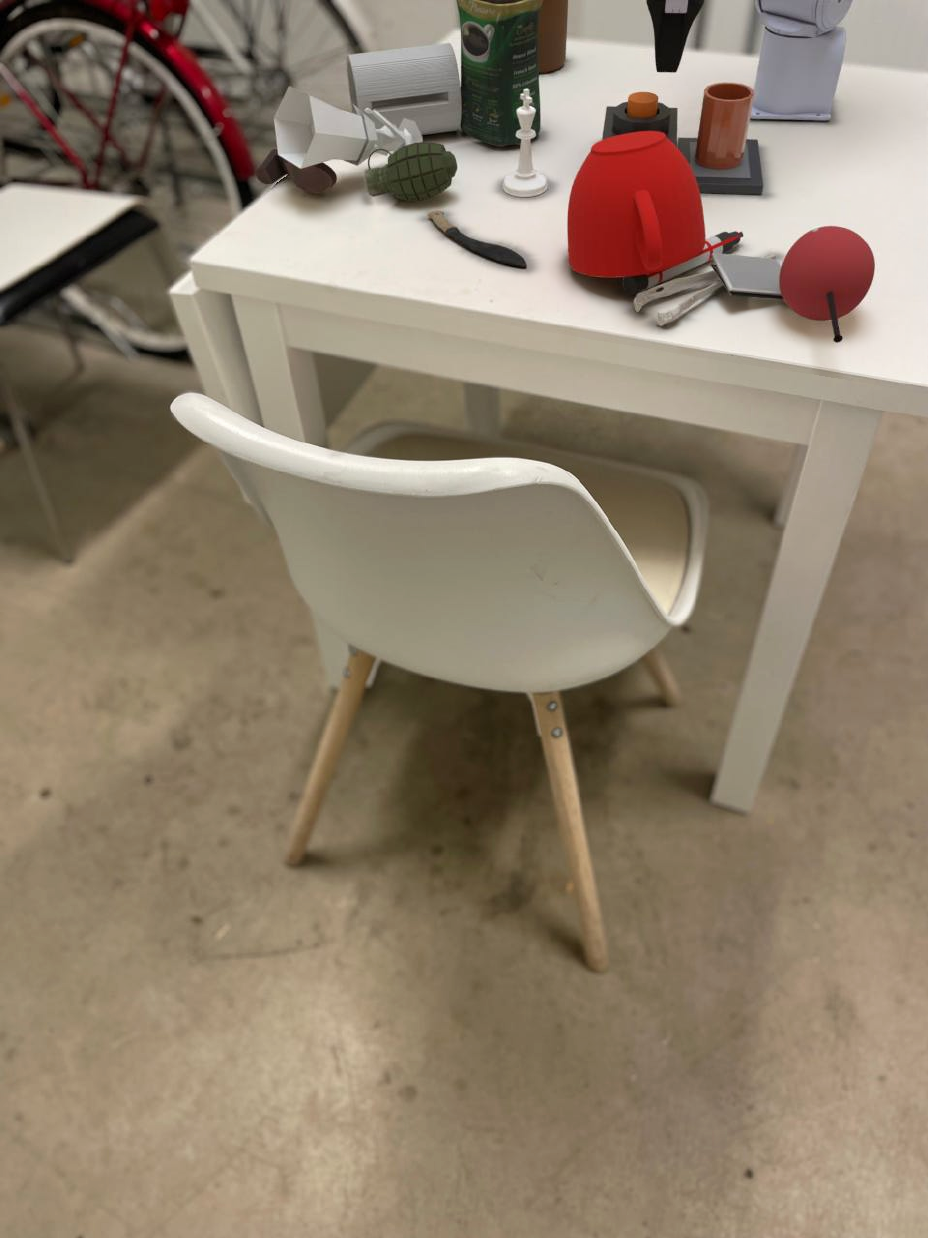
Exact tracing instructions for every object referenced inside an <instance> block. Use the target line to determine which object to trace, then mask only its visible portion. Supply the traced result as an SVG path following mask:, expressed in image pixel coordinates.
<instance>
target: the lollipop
mask: <svg viewBox="0 0 928 1238" xmlns="http://www.w3.org/2000/svg"><path fill="white" fill-rule="evenodd" d="M875 269H876V262H875V256H874V253H873V250H872V248H871V247H870V245H869V244H868V242H867V241H866V239H864V238H863V237H862V236H861V235H860V234H859V233H857V232H855V231H853V230H852V229H849V228H846V227H842V226H839V225H838V226H836V225H825V226H820V227H816V228H813V229H810V230H809V231H807V232H805V233H804V234H802V236H800V237H799V238H798V239H797V240H796V241H795V242H794V243H793V244H792V245H791V246H790V248H789V249H788V251H787V253H786V254H785V256H784V259H783V260H782V264H781V270H780V276H779V286H780V291H781V295H782V297H783V299H784V300H783V301H784V302H785V304H786V305H787V307H788V308H790V309H791V310H792V311H793V312H795V313H796V314H797V315H798V316H801V317H803V318H805V319H807V320H810V321H817V322H829V321H831V327H832V331H833V339H832V340H833V342H834V343H835V344H836V343H837V344H838V343H841V342H842V341H843V338H844V337H843V336H842V334H841V330H840V329H841V328H840V324H839V319H840V318H843V317H845V316H846V315H848V314H850V313H852V312H853V311H854V310H855V309H856V308H857V307H859V305H860V304H861V302H863V300H864V299H865V298H866V296H867V295H868V292H869V290H870V289H871V286H872V283H873V280H874V277H875Z"/></svg>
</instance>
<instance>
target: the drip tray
mask: <svg viewBox="0 0 928 1238" xmlns="http://www.w3.org/2000/svg"><path fill="white" fill-rule="evenodd" d="M696 142H697V137H677V148H678V149H679V150H680V152H681V153H682V154H683V155H684V157H685V158H686V160H687V161H688V163H689V165H690V167H691V169H692V171H693V173H694V176H695V178H696V181H697V184H698V187H699V191H700V194H702V193H703V194H729V195H730V194H731V195H732V194H734V195H762V194H763V189H764V180H763V172H762V164H761V154H760V147H759V140H758V139H756V138H755V139H753V138H752V139H751V138H747V139H746V144H745V150H744V155H743V159H742V162H741V164H740V165H738V166H737V167H734V168H731V169H710V168H706V167H703V166H701V165H699V164H697V163H696V162H695V159H694V158H695V149H696Z"/></svg>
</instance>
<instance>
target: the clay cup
mask: <svg viewBox="0 0 928 1238" xmlns="http://www.w3.org/2000/svg"><path fill="white" fill-rule="evenodd" d="M753 100H754V88H752V87H750V86H749V85H745V84H742V83H738V82H717V83H713V84H710V85H707V86H706V87H704V89H703V93H702V100H701V108H700V114H699V121H698V129H697V135H696V138H697V142H696V149H695V158H694V159H695V162H696V163H697V164H699V165H701V166H703V167H706V168H710V169H731V168H734V167H737V166H738V165H740V164H741V162H742V159H743V155H744V150H745V144H746V139H748V133H749V126H750V122H751V118H750V116H751V111H752V105H753Z"/></svg>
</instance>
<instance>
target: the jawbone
mask: <svg viewBox="0 0 928 1238" xmlns="http://www.w3.org/2000/svg"><path fill="white" fill-rule="evenodd" d="M777 256H778V254H777V253H775V252H774V253H771V254H769V255H767V256H764V257H762V258H771V259H775V257H777ZM711 283H712V284H711ZM707 284H710V285H709V286H707V287H705V288H703V289H701V290H699V291H697V292H695V293H693V294H692V295H690V296H689V297H687V298H685V299H684V300H683V301H681V302H680V303H679V304H678V306H677V307H676V308H675V309H672V310H668V311H667V312H663V313H662V312H657V313H656V314H657V319H656V324H657V325H658V326H660V327H662V326H664V325H665V324H667V323H669V322H670V321H672V320H673V319H675V318H676V317H678V316H679V315H680V314H682V313H683V312H684V311H686V310H688V309H689V308H690V307H692V306H693V305H694V304H696V303H697V302H699V301H700V300H702V299H703V298H705V297H706V296H709V295H710V294H711V293H713V292H715V291H716V290H718V289H719V288H721V287H722V286H724V285H723V283H722V282H721V280H720V279H719V277H718V276H717V274H716V273H715V271H714V270H710V271H705V272H700V273H697V274H691V275H688V276H682V277H677V278H674V279H671V280H669V281H667V282H666V281H665V282H664V283H662V284H661V283H660V284H658V285H655V286H652V287H650V288H648V289H645V290H642V291H640V292H638V293H636V296H635V297H634V299H633V306H634V310H635V311H636V313H639V312H640V310H641V309H642V307H643V306H644V305H645V304H647V303H649V302H652V301H654V300H657V299H659V298H660V299H661V298H664V297H668V296H671V295H674V294H676V293H679V292H682V291H685V290H688V289H692V288H696V287H698V286H699V287H700V286H703V285H707ZM661 288H663V289H662V290H660V291H657V290H658V289H661Z"/></svg>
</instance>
